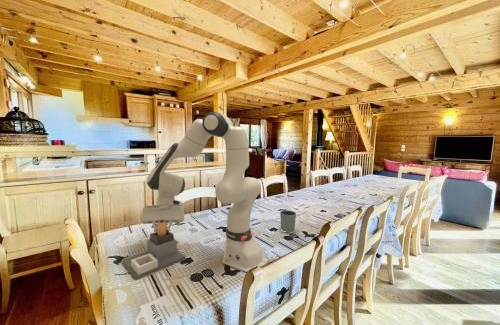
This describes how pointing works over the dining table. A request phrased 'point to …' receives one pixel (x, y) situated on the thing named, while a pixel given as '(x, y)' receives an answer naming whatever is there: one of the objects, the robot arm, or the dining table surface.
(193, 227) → the dining table surface
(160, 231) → the plug
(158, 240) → the grey socket base
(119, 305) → the dining table surface
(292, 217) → the grey cup
